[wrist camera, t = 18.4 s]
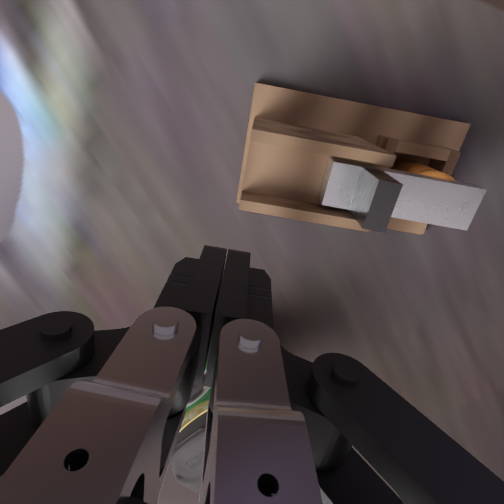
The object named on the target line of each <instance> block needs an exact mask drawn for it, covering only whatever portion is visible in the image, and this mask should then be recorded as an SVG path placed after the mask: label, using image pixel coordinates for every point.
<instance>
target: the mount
mask: <svg viewBox="0 0 504 504" xmlns="http://www.w3.org/2000/svg"><path fill="white" fill-rule="evenodd" d="M470 125H471V124H468V123H463V122H458V121H452V120H447V119H442V118H437V117H432V116H426V115H421V114H416V113H411V112H406V111H400V110H395V109H390V108H385V107H379V106H374V105H369V104H364V103H359V102H353V101H348V100H343V99H338V98H333V97H327V96H322V95H317V94H312V93H307V92H301V91H296V90H291V89H286V88H281V87H275V86H270V85H265V84H260V83H255V86H254V93H253V99H252V106H251V112H250V118H249V125H248V131H247V137H246V144H245V150H244V157H243V163H242V169H241V176H240V182H239V188H238V195H237V201H236V202H237V203H240V204H239V210H245V211H250V212H256V213H262V214H268V215H273V216H279V217H285V218H291V219H297V220H302V221H308V222H314V223H320V224H326V225H331V226H337V227H343V228H349V229H355V230H360V231H366V232H370V230H367V229H362V227H361V226H360V225H359V223H358V222H357V220H356V219H355V218H354V216H353V215H352V213H351V212H350V211H349V210H348V209H342V208H336V207H331V206H325V205H322V204H321V202H320V200H319V196H320V192H321V189H322V185H323V181H324V178H325V174H326V170H327V166H328V163H329V159H330V158H334V159H339V160H345V161H350V162H355V163H361V164H366V165H372V166H377V167H383V168H388V169H390V166H391V167H393V164H394V161H395V159H397V158H403V157H404V158H409V159H411V160H413V161H416V162H418V163H421V164H423V165H426V166H428V167H430V168H433V169H435V170H438V171H440V172H443V173H445V174H447V175H450V176H451V175H452V173H453V170H454V168H455V166H456V164H457V161H458V159H459V157H460V154H461V152H459V150H460V148H461V146H462V143H463V141H464V139H465V137H466V134H467V132H468V130H469V127H470ZM426 227H427V223H422V222H416V221H410V220H405V219H399V218H393V217H391V218H390V221H389V223H388V226H387V229H392V230H398V231H404V232H409V233H415V234H421V235H423V234H424V231H425V229H426Z"/></svg>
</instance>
